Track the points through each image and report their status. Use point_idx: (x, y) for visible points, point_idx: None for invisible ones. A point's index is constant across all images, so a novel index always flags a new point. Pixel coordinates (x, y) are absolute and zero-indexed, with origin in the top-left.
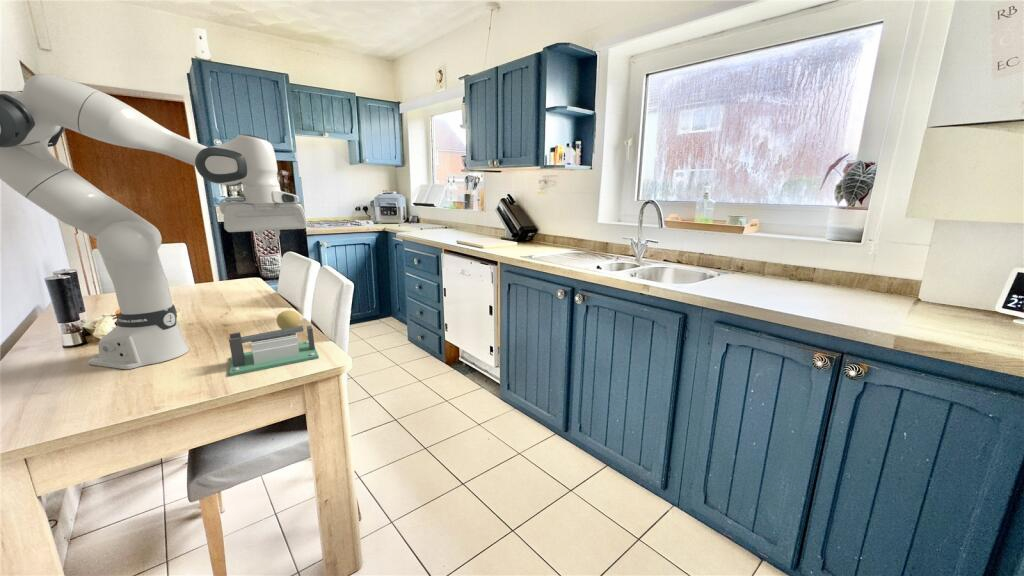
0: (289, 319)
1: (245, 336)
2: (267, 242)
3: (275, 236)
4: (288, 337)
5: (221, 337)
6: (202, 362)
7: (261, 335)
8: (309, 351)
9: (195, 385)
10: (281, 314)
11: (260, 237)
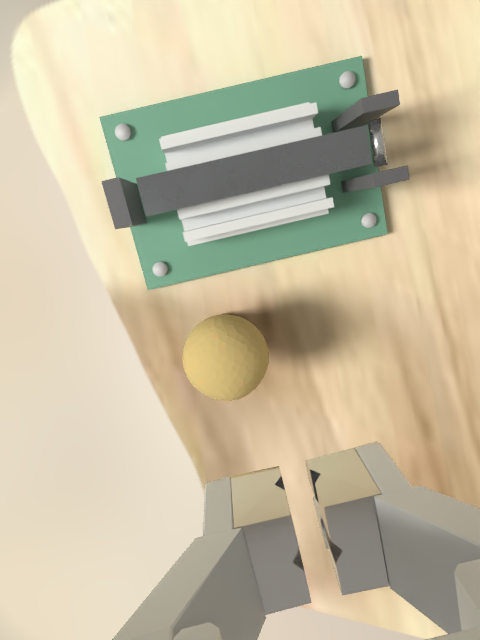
0: (213, 322)
1: (349, 165)
2: (337, 481)
3: (222, 616)
4: (194, 156)
5: (448, 440)
6: (460, 221)
7: (290, 149)
8: (138, 173)
9: (442, 20)
10: (247, 349)
11: (471, 511)
